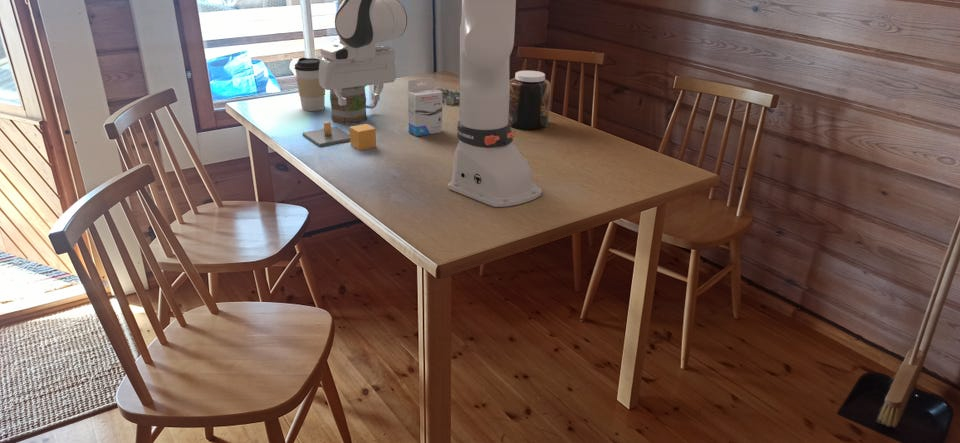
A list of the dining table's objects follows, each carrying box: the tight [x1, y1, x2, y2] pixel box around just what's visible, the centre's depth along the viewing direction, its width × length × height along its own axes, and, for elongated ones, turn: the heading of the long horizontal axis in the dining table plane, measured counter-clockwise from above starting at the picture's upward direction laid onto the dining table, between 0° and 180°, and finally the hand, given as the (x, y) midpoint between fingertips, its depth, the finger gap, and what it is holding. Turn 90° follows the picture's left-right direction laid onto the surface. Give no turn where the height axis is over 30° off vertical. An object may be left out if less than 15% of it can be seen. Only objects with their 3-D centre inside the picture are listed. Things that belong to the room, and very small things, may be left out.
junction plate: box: [302, 121, 350, 148], centre depth 183 cm, size 11×10×4 cm
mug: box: [329, 84, 379, 125], centre depth 198 cm, size 16×11×12 cm
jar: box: [508, 70, 551, 131], centre depth 195 cm, size 12×12×15 cm
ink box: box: [407, 77, 443, 137], centre depth 187 cm, size 8×5×15 cm, turn 123°
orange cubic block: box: [348, 123, 377, 151], centre depth 177 cm, size 5×5×5 cm
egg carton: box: [434, 87, 460, 106], centre depth 219 cm, size 11×8×4 cm
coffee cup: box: [294, 57, 326, 112], centre depth 205 cm, size 9×9×15 cm
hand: (359, 102), depth 173 cm, fingers open, 8 cm apart
